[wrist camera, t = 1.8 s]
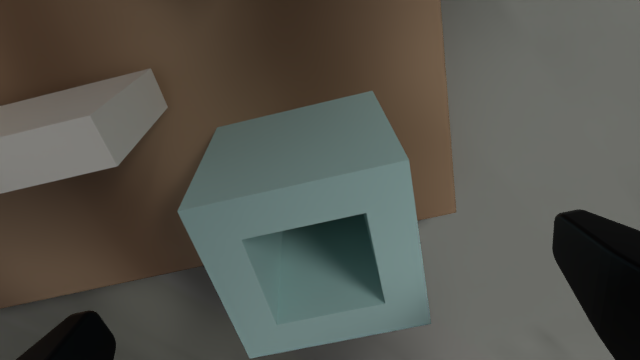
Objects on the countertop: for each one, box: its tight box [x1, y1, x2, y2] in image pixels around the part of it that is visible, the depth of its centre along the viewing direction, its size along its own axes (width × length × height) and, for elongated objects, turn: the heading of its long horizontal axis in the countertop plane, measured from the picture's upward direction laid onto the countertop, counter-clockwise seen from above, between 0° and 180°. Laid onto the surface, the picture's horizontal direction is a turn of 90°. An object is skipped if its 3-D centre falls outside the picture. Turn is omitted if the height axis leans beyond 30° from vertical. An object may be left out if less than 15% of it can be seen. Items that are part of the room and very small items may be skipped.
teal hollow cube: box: [177, 91, 431, 358], centre depth 10 cm, size 4×4×4 cm
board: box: [0, 0, 456, 309], centre depth 10 cm, size 18×14×1 cm
